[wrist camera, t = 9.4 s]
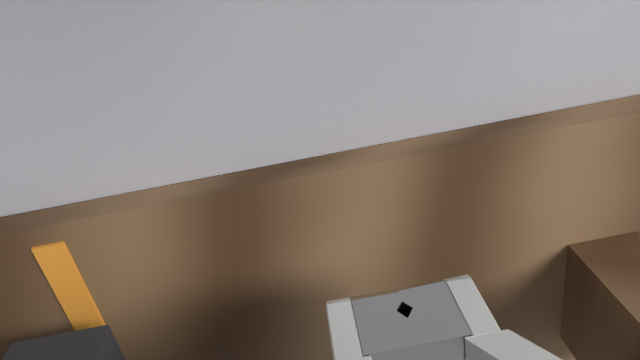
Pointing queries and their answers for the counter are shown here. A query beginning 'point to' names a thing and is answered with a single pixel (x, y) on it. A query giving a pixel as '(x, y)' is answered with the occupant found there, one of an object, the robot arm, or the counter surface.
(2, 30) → the counter surface
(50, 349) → the collar
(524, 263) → the pipe stand
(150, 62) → the counter surface
